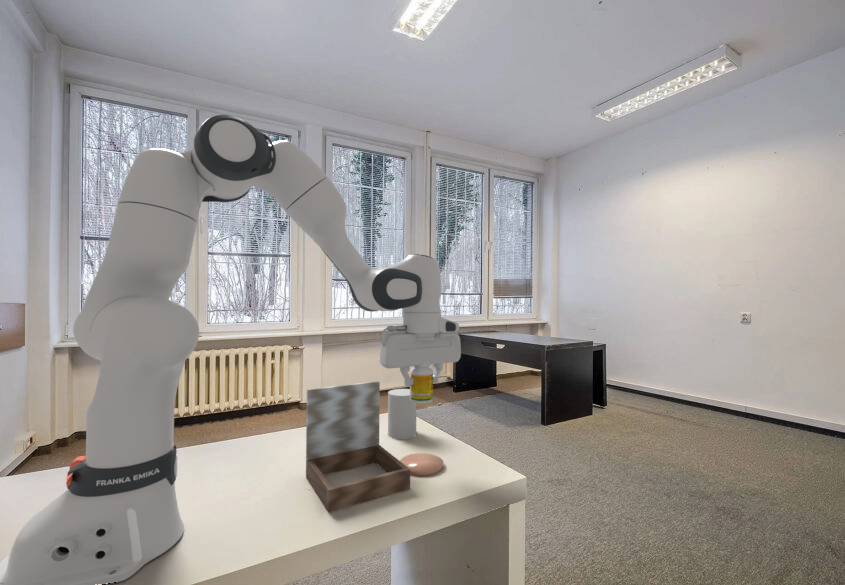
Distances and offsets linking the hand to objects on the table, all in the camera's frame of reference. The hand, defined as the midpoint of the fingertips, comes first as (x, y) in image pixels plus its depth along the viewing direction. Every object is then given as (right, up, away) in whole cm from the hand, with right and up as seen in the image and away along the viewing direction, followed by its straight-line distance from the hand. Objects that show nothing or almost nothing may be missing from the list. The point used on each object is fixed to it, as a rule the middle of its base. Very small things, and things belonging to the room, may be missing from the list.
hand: (421, 384), depth 89 cm
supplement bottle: (0, -4, 0) cm, 4 cm away
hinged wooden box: (-14, -19, -8) cm, 25 cm away
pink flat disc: (0, -19, 0) cm, 19 cm away
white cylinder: (-6, -20, +21) cm, 29 cm away
